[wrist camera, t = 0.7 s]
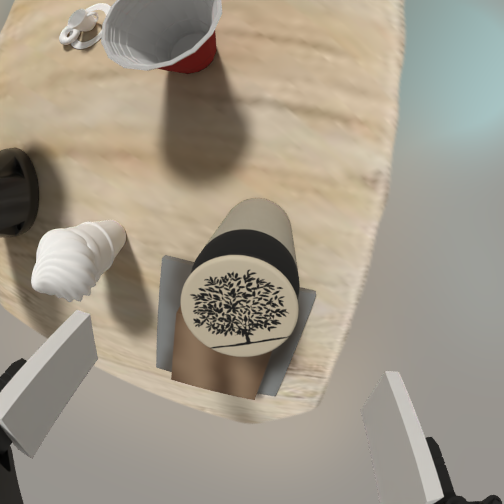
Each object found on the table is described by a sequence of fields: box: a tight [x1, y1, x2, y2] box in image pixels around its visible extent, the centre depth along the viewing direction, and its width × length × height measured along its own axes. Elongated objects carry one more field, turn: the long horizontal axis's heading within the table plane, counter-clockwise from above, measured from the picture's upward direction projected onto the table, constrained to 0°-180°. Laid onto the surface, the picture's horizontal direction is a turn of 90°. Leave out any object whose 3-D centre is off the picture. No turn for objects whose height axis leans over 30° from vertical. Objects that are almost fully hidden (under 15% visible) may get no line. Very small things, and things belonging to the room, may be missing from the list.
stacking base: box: [156, 255, 316, 400], centre depth 37 cm, size 20×20×6 cm
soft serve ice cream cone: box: [31, 220, 126, 302], centre depth 29 cm, size 8×8×16 cm
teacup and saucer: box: [59, 3, 111, 49], centre depth 24 cm, size 9×8×4 cm
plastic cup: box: [101, 0, 222, 74], centre depth 22 cm, size 11×11×12 cm
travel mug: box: [181, 198, 299, 357], centre depth 26 cm, size 8×8×18 cm
